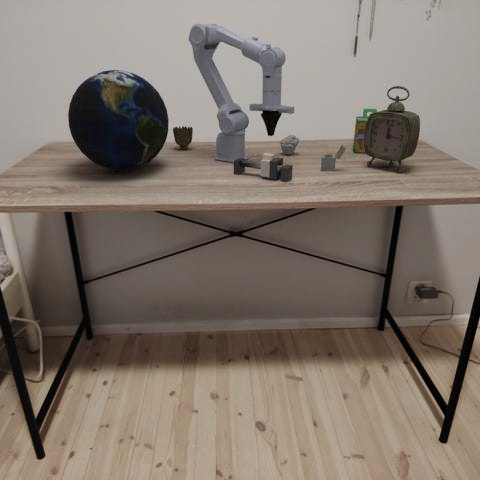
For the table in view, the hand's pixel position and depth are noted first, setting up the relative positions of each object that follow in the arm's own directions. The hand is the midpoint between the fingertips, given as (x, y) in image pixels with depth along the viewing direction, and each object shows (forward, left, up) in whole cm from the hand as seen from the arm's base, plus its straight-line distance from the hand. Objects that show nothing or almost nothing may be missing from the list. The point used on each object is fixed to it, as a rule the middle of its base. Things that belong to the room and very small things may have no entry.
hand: (270, 135), depth 141 cm
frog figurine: (0, +16, -10) cm, 19 cm away
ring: (+7, -12, -10) cm, 17 cm away
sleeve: (+5, -12, -10) cm, 16 cm away
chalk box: (+23, +34, -10) cm, 42 cm away
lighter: (+20, +4, -10) cm, 23 cm away
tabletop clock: (+35, +15, -10) cm, 39 cm away
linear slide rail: (+3, -12, -10) cm, 16 cm away
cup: (-38, +5, -10) cm, 40 cm away
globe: (-40, -25, -10) cm, 48 cm away
